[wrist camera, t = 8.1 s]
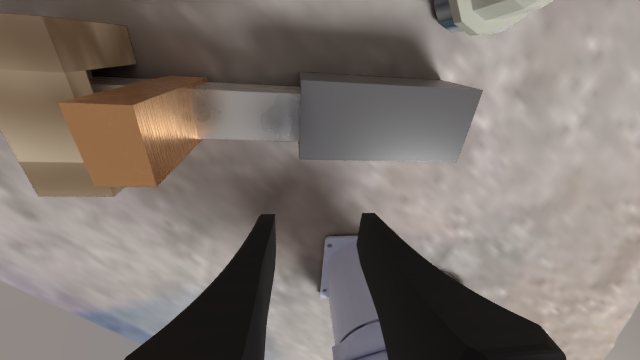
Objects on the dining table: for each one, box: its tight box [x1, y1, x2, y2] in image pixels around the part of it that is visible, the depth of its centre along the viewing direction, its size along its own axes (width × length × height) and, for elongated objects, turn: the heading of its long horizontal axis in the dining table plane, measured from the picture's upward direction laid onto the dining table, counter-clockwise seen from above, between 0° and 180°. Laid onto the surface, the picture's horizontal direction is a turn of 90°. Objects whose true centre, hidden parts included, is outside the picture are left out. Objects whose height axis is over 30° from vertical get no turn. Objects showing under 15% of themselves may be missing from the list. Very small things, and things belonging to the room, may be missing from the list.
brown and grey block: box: [58, 76, 301, 187], centre depth 14 cm, size 4×16×9 cm, turn 87°
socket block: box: [0, 13, 136, 197], centre depth 15 cm, size 9×4×6 cm, turn 176°
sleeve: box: [298, 72, 483, 162], centre depth 17 cm, size 5×11×5 cm, turn 87°
